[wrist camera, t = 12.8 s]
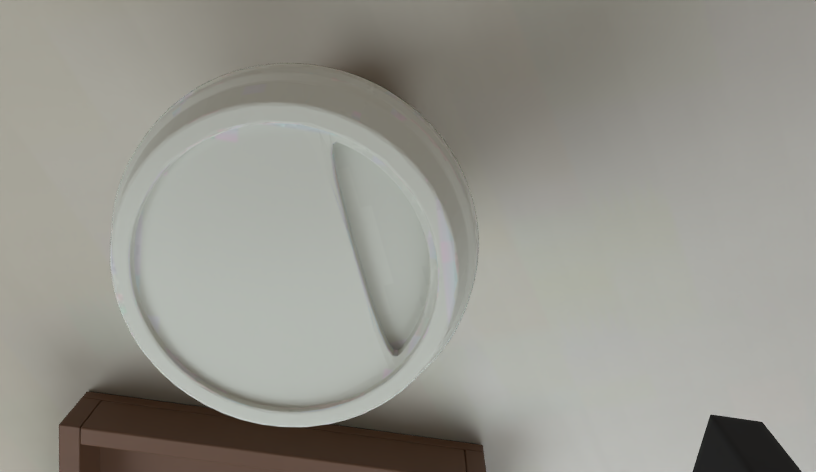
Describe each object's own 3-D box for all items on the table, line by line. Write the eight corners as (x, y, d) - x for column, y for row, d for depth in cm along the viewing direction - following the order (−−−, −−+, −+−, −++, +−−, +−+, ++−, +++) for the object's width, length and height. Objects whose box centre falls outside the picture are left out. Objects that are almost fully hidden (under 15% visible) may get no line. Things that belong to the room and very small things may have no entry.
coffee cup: (414, 293, 28) (412, 491, 17) (202, 227, 28) (51, 389, 16) (490, 82, 26) (546, 151, 14) (258, 4, 25) (124, 11, 14)
